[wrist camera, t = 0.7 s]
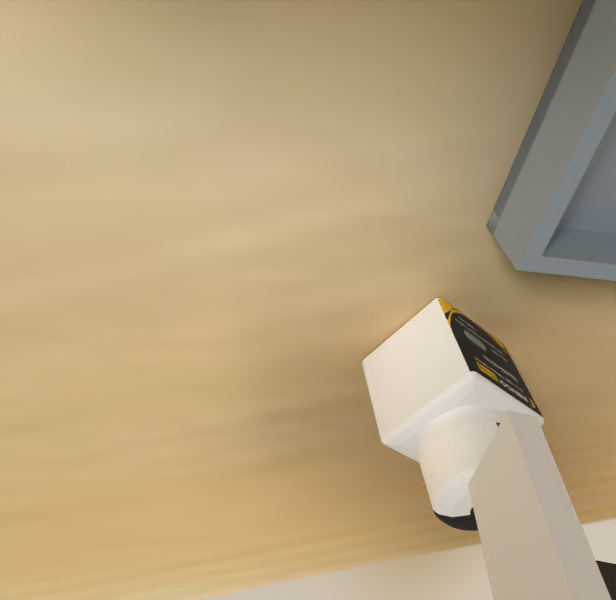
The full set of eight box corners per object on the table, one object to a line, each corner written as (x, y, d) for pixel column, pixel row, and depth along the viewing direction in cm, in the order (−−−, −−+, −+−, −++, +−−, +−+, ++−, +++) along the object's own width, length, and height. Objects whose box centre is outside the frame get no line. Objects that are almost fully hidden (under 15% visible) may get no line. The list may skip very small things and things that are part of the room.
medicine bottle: (504, 343, 40) (588, 496, 31) (427, 401, 43) (481, 558, 34) (437, 293, 37) (508, 448, 27) (358, 360, 40) (397, 521, 30)
